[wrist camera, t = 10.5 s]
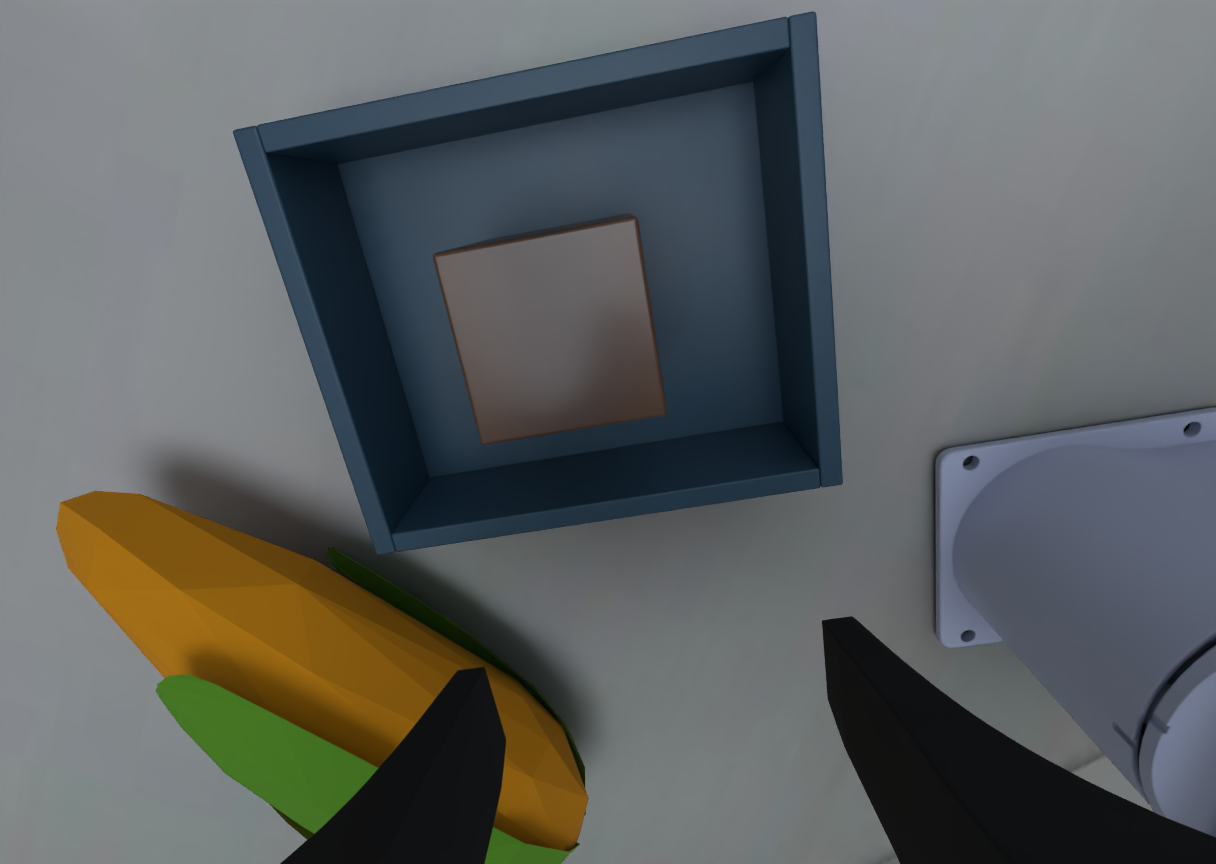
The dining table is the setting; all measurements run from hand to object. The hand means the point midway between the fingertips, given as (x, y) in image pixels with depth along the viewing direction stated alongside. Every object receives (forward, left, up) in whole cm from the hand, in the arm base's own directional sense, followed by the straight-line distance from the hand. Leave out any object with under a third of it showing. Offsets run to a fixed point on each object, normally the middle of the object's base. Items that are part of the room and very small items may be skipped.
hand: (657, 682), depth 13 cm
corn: (+11, +4, -10) cm, 15 cm away
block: (+1, -7, -9) cm, 11 cm away
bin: (+1, -7, -9) cm, 12 cm away
